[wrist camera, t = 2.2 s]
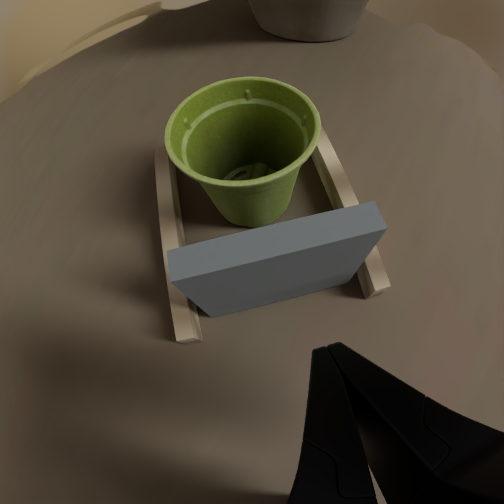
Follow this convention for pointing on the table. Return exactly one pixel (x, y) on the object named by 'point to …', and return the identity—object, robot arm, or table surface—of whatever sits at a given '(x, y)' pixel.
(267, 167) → the plant pot
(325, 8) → the plant pot
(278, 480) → the table surface
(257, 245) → the board
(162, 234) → the wooden rail frame
